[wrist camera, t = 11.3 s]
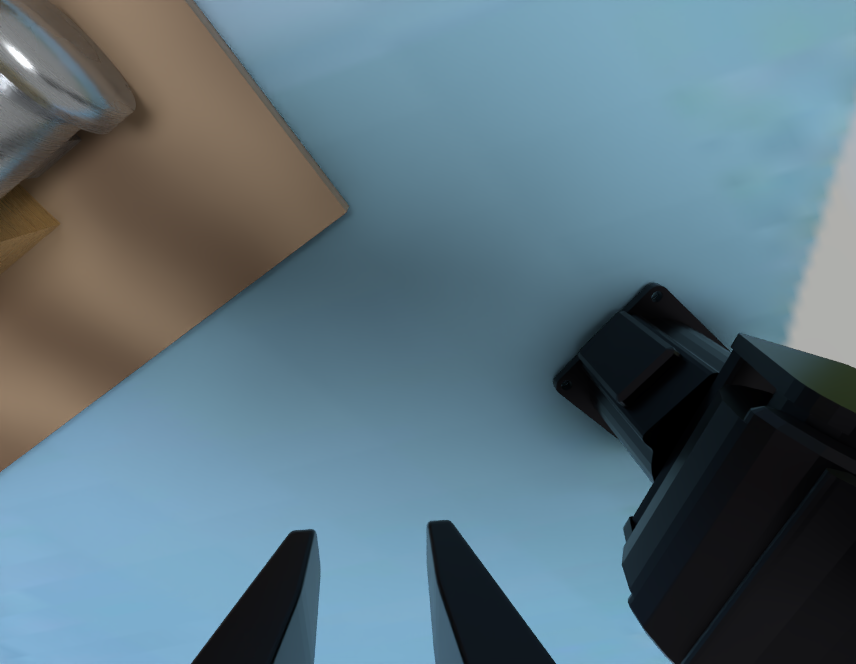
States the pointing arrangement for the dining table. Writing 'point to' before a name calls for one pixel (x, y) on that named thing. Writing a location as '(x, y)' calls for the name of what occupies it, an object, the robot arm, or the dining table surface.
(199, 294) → the mounting board
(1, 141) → the ball valve
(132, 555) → the dining table surface
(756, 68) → the dining table surface
